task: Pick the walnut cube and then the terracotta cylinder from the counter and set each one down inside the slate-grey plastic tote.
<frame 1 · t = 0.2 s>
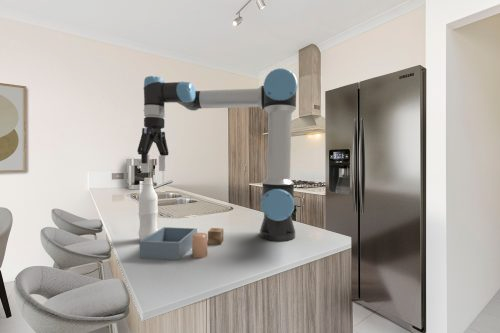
hand: (154, 171, 100), 27 cm above the countertop, fingers open, 13 cm apart
water bottle: (148, 240, 101), on the countertop
cube: (215, 242, 99), on the countertop
tote: (170, 249, 90), on the countertop
cylinder: (199, 255, 85), on the countertop
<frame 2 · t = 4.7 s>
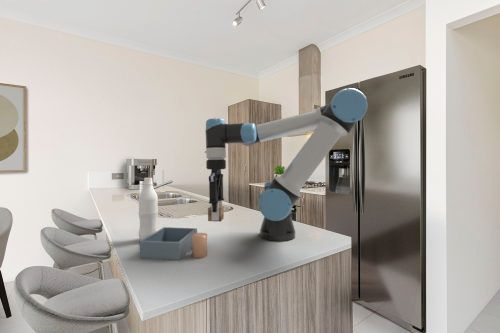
hand: (217, 218, 98), 9 cm above the countertop, fingers closed on cube, 5 cm apart
cube: (215, 219, 99), point 9 cm above the countertop, touching gripper
everything else where it was.
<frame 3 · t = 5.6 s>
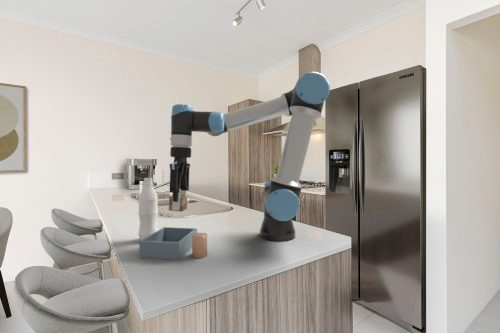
hand: (179, 208, 95), 14 cm above the countertop, fingers closed on cube, 5 cm apart
cube: (178, 209, 95), point 13 cm above the countertop, touching gripper
everything else where it was.
when the fingers open (5 cm above the countertop, at t = 6.8 s): cube drops 4 cm, resting on tote.
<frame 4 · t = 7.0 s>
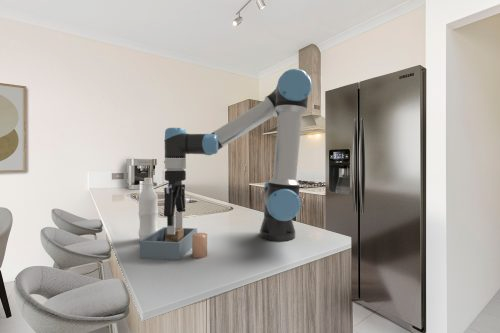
hand: (175, 231, 94), 5 cm above the countertop, fingers open, 7 cm apart
cube: (174, 243, 95), point 1 cm above the countertop, tilted 7°, touching gripper, tote
everything else where it was.
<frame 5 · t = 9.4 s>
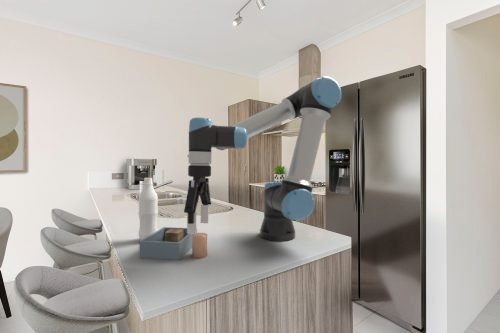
hand: (198, 227, 85), 9 cm above the countertop, fingers open, 13 cm apart
cube: (174, 244, 95), resting on tote
everything else where it was.
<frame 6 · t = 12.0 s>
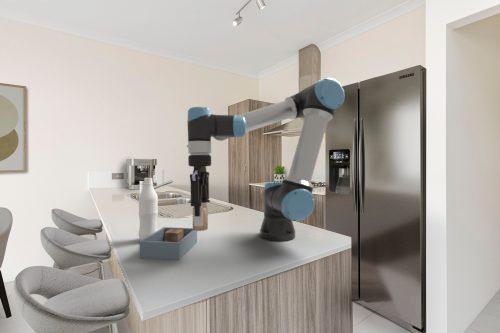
hand: (201, 223, 85), 11 cm above the countertop, fingers closed on cylinder, 5 cm apart
cylinder: (200, 228, 85), point 9 cm above the countertop, touching gripper
everything else where it was.
when the fingers open (5 cm above the countertop, at t = 13.9 s): cylinder drops 3 cm, resting on tote.
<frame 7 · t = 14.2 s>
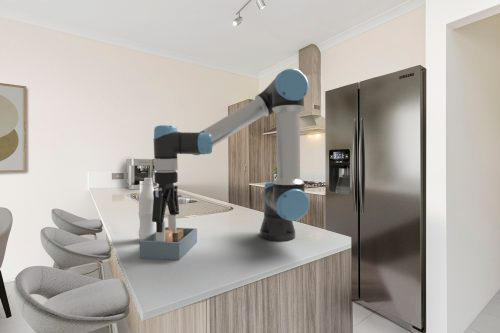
hand: (166, 236, 87), 6 cm above the countertop, fingers open, 8 cm apart
cube: (174, 244, 95), point 1 cm above the countertop, touching gripper
cylinder: (165, 252, 86), point 1 cm above the countertop, touching tote
everything else where it was.
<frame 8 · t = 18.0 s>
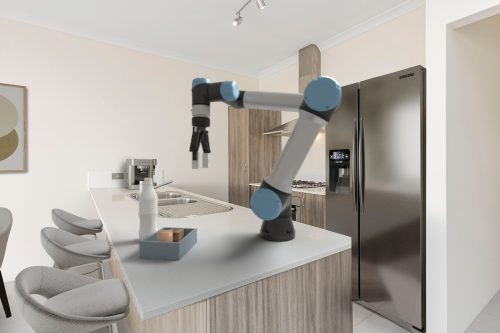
hand: (200, 168, 105), 29 cm above the countertop, fingers open, 13 cm apart
cube: (174, 243, 95), resting on tote
everything else where it was.
at the end: cube inside the target area on the tote (4.7 cm from its centre), point 0.5 cm above the tote's base; cylinder inside the target area on the tote (4.0 cm from its centre), point 0.5 cm above the tote's base; the gripper is holding nothing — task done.
